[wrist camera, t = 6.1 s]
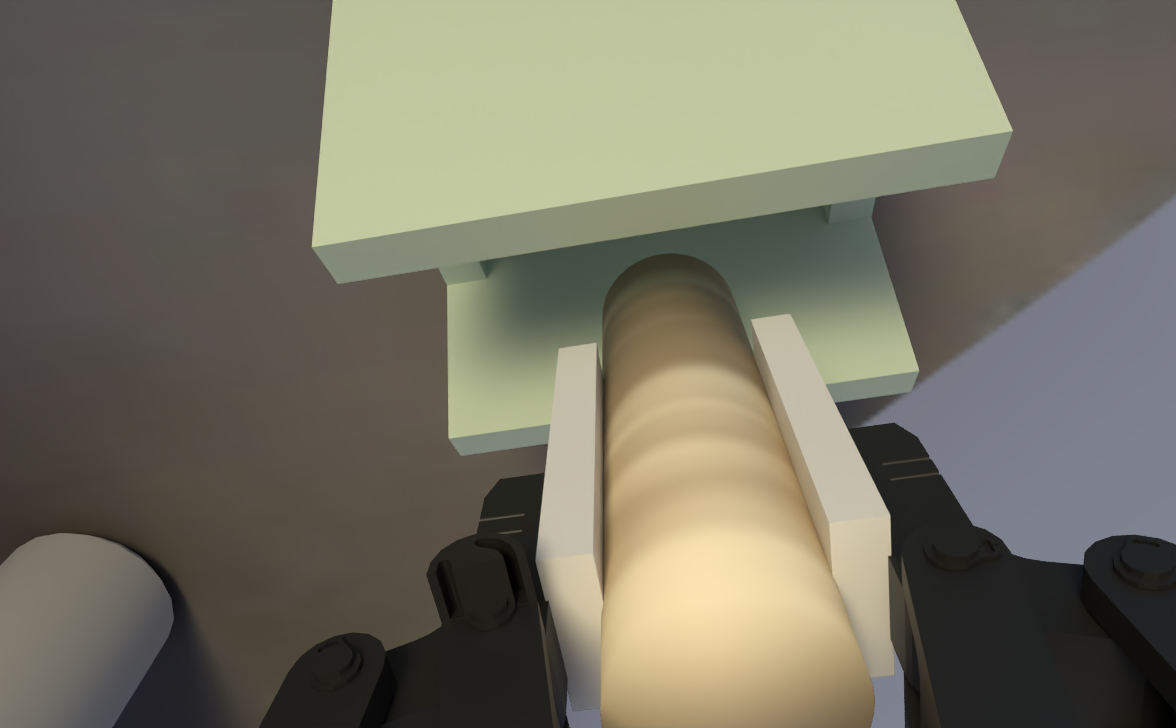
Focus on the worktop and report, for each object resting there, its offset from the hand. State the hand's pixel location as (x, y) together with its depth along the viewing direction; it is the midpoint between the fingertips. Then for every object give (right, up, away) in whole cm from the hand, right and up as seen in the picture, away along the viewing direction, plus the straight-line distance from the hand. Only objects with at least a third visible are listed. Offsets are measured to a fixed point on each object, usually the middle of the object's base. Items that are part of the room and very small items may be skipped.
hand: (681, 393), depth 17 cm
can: (-24, -9, +22) cm, 34 cm away
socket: (-1, +10, +12) cm, 16 cm away
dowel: (0, +2, +4) cm, 4 cm away
